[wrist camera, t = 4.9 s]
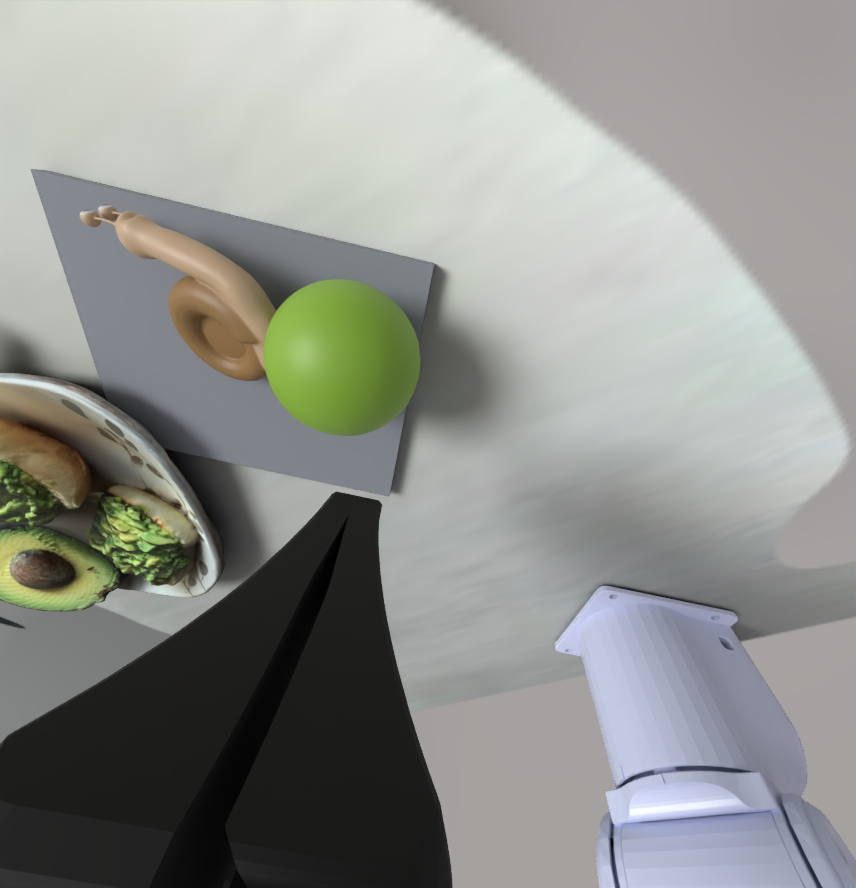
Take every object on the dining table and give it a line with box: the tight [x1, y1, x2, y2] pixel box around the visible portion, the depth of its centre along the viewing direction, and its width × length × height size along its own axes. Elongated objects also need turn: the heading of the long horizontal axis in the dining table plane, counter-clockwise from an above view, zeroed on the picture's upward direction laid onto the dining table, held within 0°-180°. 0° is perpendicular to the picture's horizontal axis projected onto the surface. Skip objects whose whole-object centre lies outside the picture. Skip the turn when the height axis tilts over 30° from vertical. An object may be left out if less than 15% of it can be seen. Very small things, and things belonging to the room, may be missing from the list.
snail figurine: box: [80, 204, 421, 436], centre depth 13 cm, size 5×6×12 cm
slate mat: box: [31, 169, 435, 496], centre depth 17 cm, size 15×12×1 cm
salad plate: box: [0, 372, 225, 612], centre depth 20 cm, size 19×18×5 cm
